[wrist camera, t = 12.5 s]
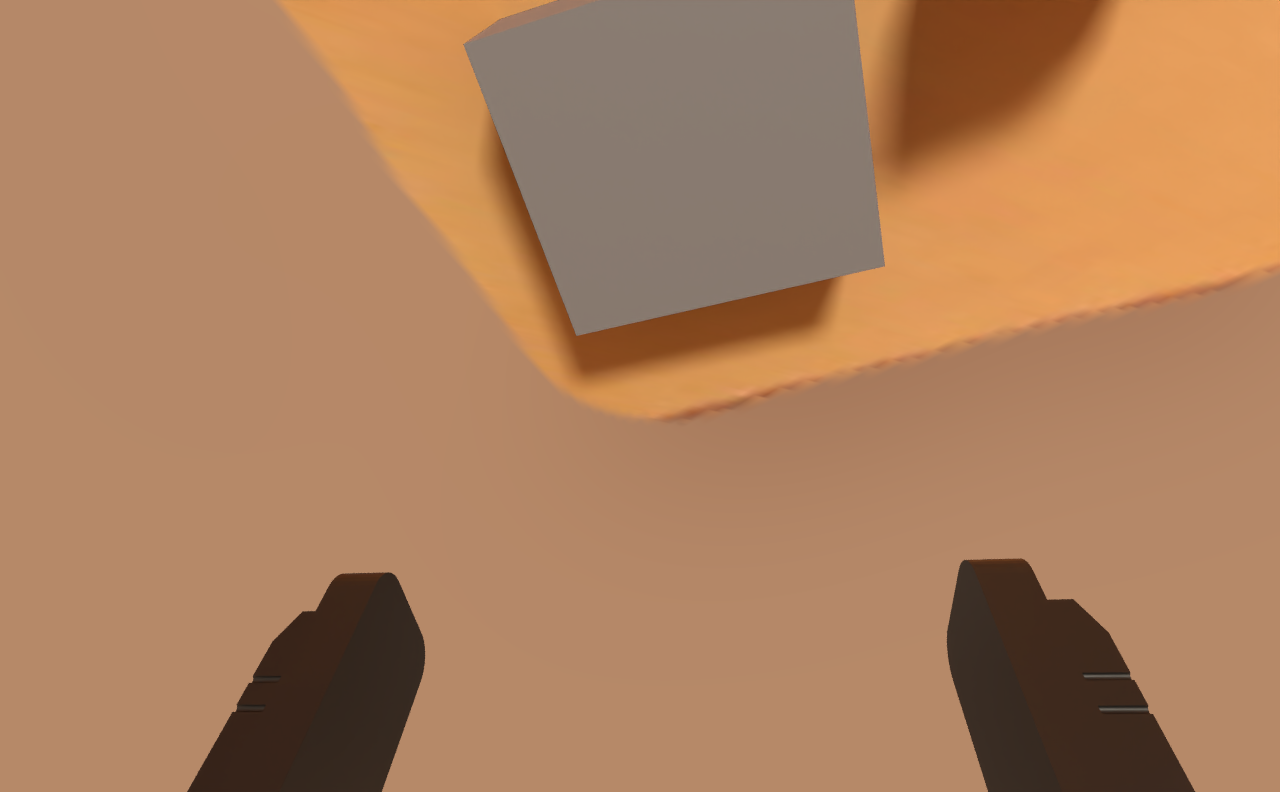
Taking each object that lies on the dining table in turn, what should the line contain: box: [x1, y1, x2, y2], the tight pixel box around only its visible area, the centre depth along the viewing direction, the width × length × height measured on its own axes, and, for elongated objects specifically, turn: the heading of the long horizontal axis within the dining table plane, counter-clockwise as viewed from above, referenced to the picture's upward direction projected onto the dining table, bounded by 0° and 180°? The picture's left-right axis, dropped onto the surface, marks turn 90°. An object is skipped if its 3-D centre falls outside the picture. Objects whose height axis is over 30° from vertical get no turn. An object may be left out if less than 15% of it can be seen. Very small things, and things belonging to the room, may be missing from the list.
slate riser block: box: [464, 0, 885, 336], centre depth 30 cm, size 13×12×6 cm
